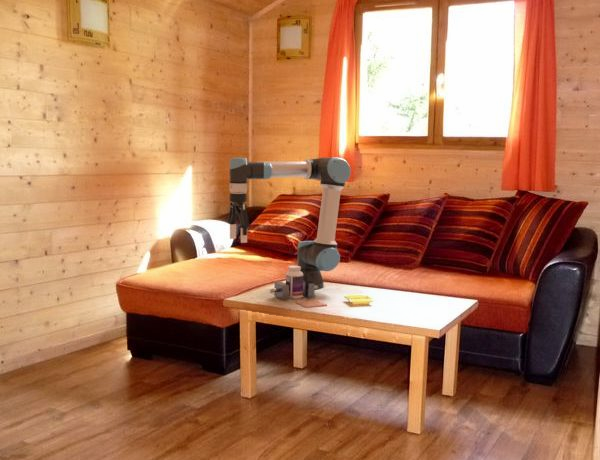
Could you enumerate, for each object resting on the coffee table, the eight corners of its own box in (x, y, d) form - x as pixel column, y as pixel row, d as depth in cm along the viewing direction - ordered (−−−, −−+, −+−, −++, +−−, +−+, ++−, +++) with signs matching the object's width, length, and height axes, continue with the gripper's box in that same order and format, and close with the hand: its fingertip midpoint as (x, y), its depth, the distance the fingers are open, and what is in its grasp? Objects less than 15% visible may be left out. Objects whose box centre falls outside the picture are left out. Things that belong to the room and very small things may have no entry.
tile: (315, 300, 288) (315, 299, 288) (326, 305, 279) (326, 304, 279) (296, 302, 284) (296, 301, 284) (306, 307, 275) (306, 306, 275)
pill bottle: (305, 296, 297) (305, 265, 295) (299, 300, 289) (300, 268, 288) (288, 295, 299) (289, 264, 298) (282, 298, 292) (283, 267, 290)
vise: (312, 293, 304) (312, 279, 303) (321, 297, 296) (322, 282, 295) (266, 297, 293) (266, 282, 292) (274, 301, 285) (274, 286, 284)
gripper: (220, 191, 291) (220, 237, 294) (240, 194, 269) (240, 244, 272) (236, 191, 295) (236, 236, 297) (257, 194, 273) (256, 243, 275)
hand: (238, 240), depth 285 cm, fingers open, 13 cm apart
